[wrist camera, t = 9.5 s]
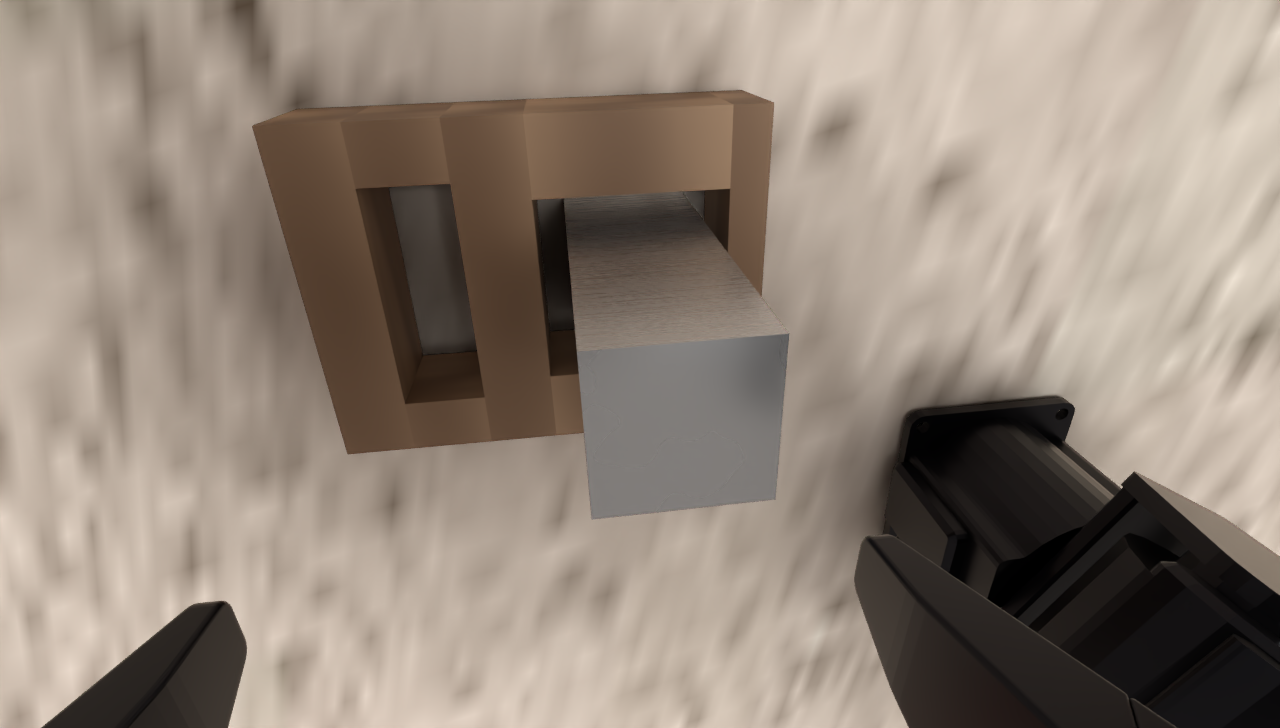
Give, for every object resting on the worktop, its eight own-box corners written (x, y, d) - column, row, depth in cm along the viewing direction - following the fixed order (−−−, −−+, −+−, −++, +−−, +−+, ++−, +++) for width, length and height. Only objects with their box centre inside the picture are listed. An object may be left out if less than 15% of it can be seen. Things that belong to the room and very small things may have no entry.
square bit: (681, 191, 20) (788, 333, 11) (681, 299, 21) (775, 499, 12) (563, 198, 19) (576, 352, 10) (573, 308, 21) (591, 519, 12)
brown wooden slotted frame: (742, 90, 18) (773, 102, 16) (729, 370, 23) (753, 417, 20) (297, 109, 17) (251, 125, 15) (371, 400, 22) (347, 454, 19)
